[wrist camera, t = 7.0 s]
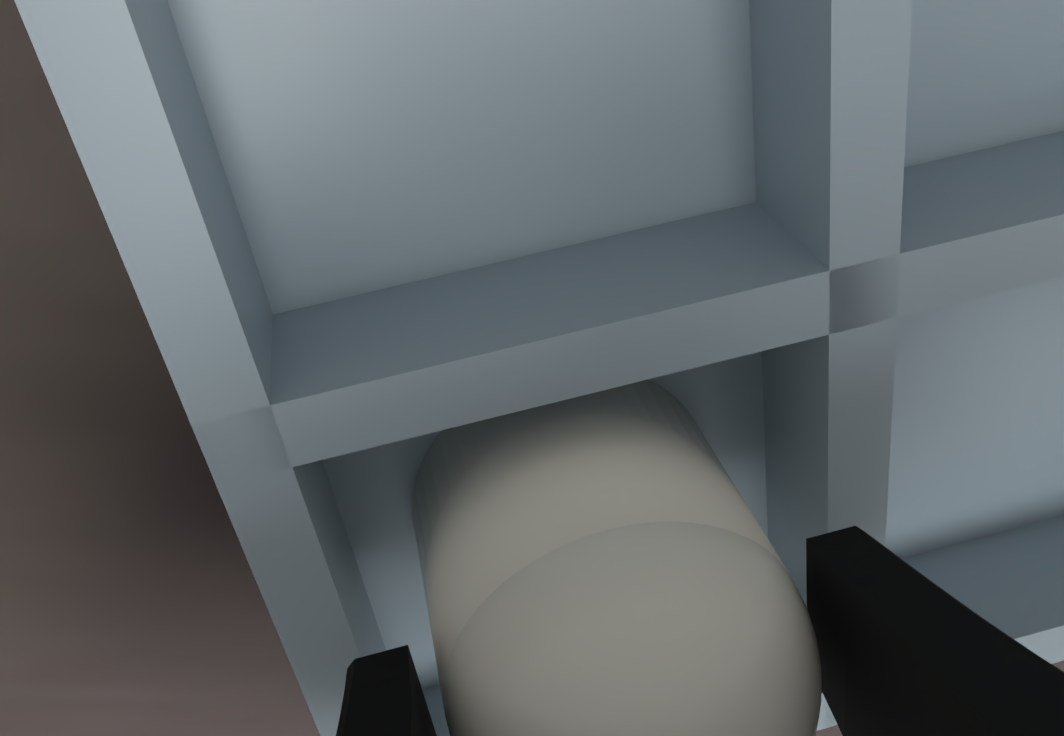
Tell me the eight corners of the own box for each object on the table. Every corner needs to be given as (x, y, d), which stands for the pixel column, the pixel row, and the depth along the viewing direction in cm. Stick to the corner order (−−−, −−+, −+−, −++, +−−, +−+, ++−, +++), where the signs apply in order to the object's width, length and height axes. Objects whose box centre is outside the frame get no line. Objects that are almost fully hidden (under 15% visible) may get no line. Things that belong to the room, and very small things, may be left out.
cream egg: (712, 569, 15) (884, 897, 11) (442, 637, 15) (506, 1007, 10) (699, 334, 13) (911, 626, 9) (382, 406, 13) (432, 753, 8)
